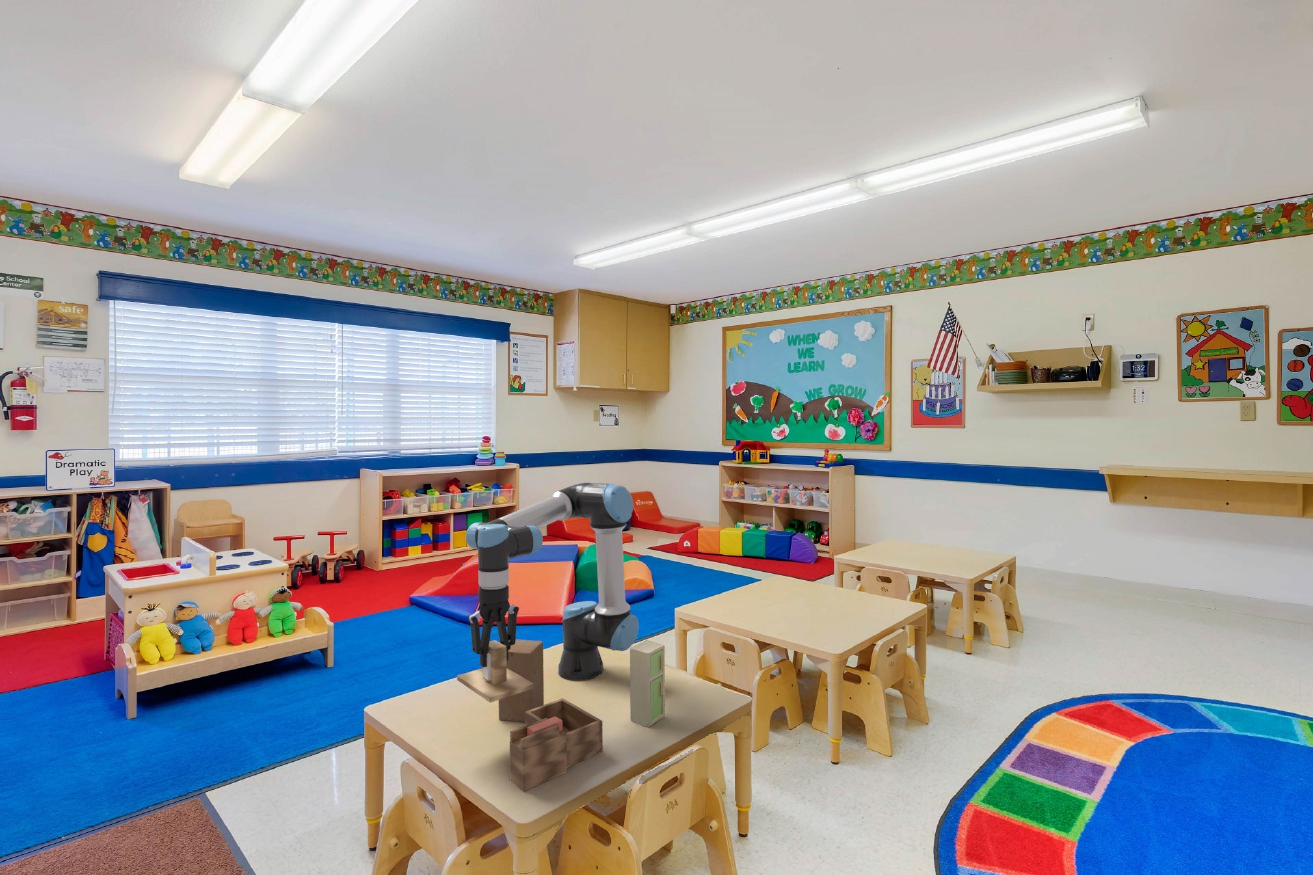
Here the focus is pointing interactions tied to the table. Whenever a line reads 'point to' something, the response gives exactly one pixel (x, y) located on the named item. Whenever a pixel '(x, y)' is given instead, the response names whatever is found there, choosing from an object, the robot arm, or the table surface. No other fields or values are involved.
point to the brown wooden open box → (553, 743)
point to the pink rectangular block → (544, 725)
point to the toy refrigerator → (647, 683)
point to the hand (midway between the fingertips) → (494, 675)
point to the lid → (496, 677)
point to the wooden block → (529, 666)
